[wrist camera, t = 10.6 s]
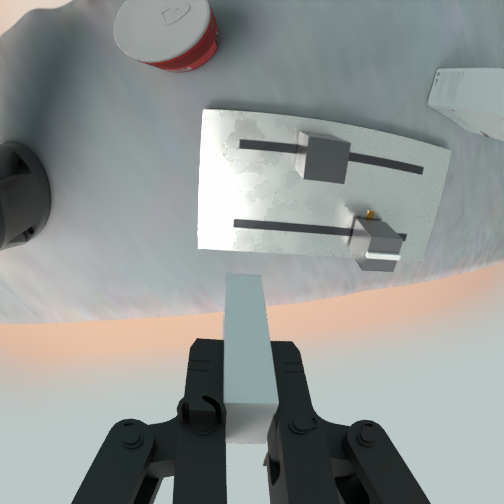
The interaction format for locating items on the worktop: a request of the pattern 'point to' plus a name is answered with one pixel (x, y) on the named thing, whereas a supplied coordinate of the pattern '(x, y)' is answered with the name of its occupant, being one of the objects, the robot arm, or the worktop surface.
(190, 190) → the worktop surface
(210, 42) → the canned food
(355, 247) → the fader
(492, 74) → the skincare box
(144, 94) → the worktop surface
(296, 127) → the console
